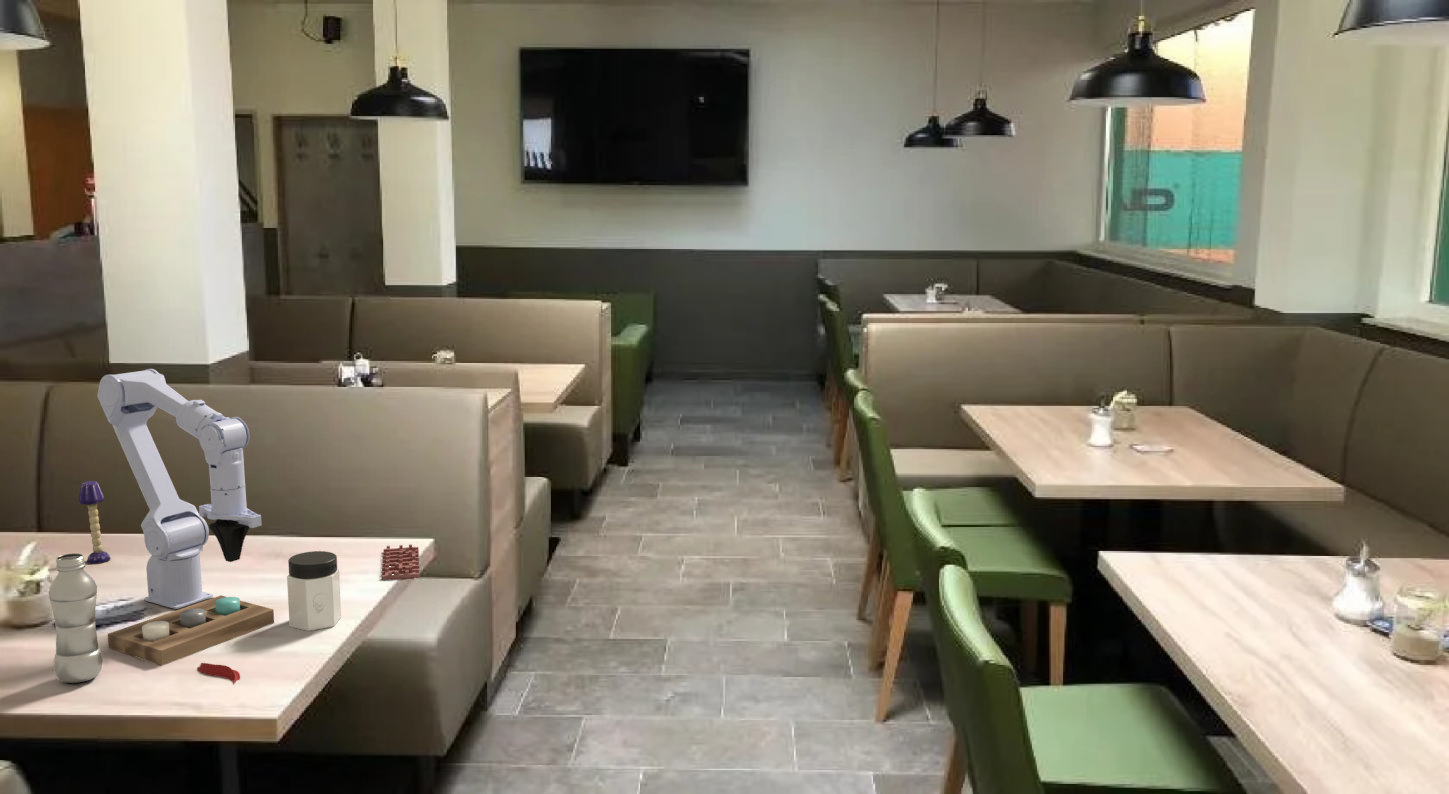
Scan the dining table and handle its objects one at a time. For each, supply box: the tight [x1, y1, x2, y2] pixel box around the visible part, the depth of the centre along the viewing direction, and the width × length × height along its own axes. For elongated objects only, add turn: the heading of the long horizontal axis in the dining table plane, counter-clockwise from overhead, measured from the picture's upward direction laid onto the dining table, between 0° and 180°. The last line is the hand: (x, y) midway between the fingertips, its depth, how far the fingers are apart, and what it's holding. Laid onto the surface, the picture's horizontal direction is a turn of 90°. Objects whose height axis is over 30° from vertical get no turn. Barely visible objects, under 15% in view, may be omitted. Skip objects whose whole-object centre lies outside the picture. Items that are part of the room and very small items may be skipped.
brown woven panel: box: [381, 543, 420, 581], centre depth 238 cm, size 7×19×2 cm, turn 15°
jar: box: [286, 550, 342, 632], centre depth 205 cm, size 9×8×12 cm
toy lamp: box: [78, 480, 111, 565], centre depth 236 cm, size 5×5×17 cm
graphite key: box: [180, 609, 206, 629], centre depth 199 cm, size 4×4×3 cm
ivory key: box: [142, 621, 170, 642], centre depth 193 cm, size 4×4×3 cm
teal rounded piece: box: [215, 596, 241, 616], centre depth 205 cm, size 4×4×3 cm
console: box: [107, 594, 275, 666], centre depth 199 cm, size 14×22×2 cm, turn 151°
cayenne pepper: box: [197, 662, 241, 685], centre depth 184 cm, size 12×5×2 cm, turn 40°
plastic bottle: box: [48, 552, 104, 684], centre depth 179 cm, size 6×7×20 cm
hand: (232, 560), depth 208 cm, fingers closed
